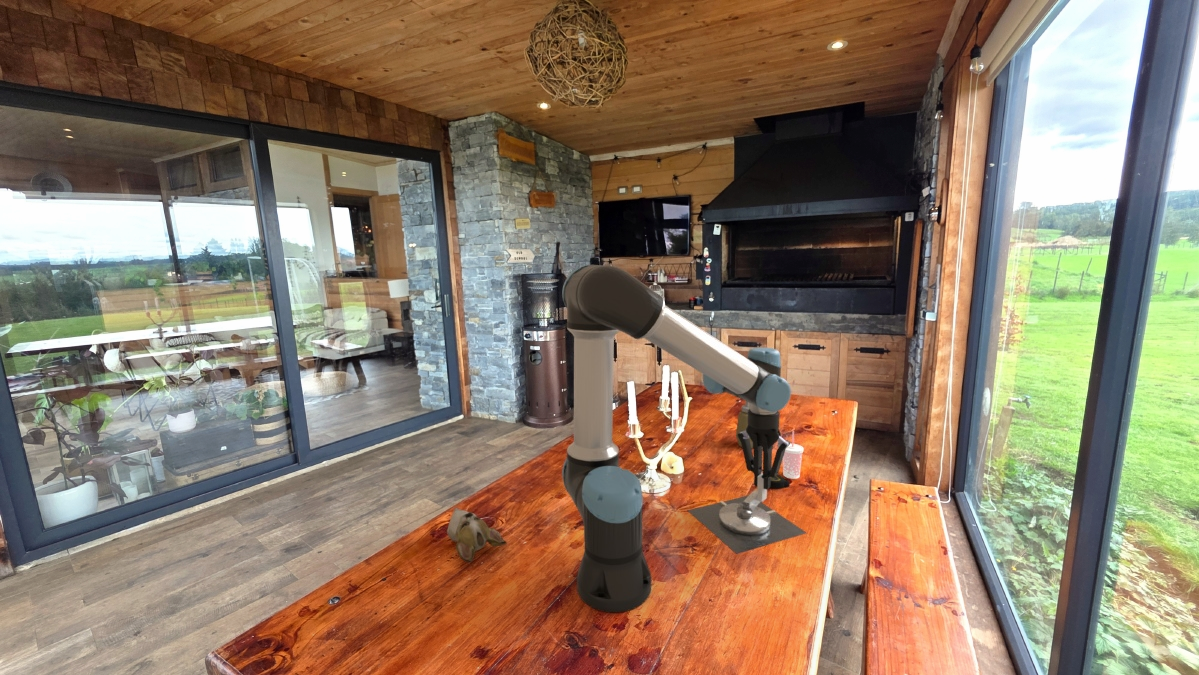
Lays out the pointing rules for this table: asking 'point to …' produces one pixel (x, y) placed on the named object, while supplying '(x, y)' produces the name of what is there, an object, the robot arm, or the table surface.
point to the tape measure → (778, 482)
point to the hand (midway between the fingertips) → (761, 499)
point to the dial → (745, 516)
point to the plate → (741, 542)
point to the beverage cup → (792, 460)
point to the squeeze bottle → (743, 423)
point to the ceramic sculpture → (471, 534)
